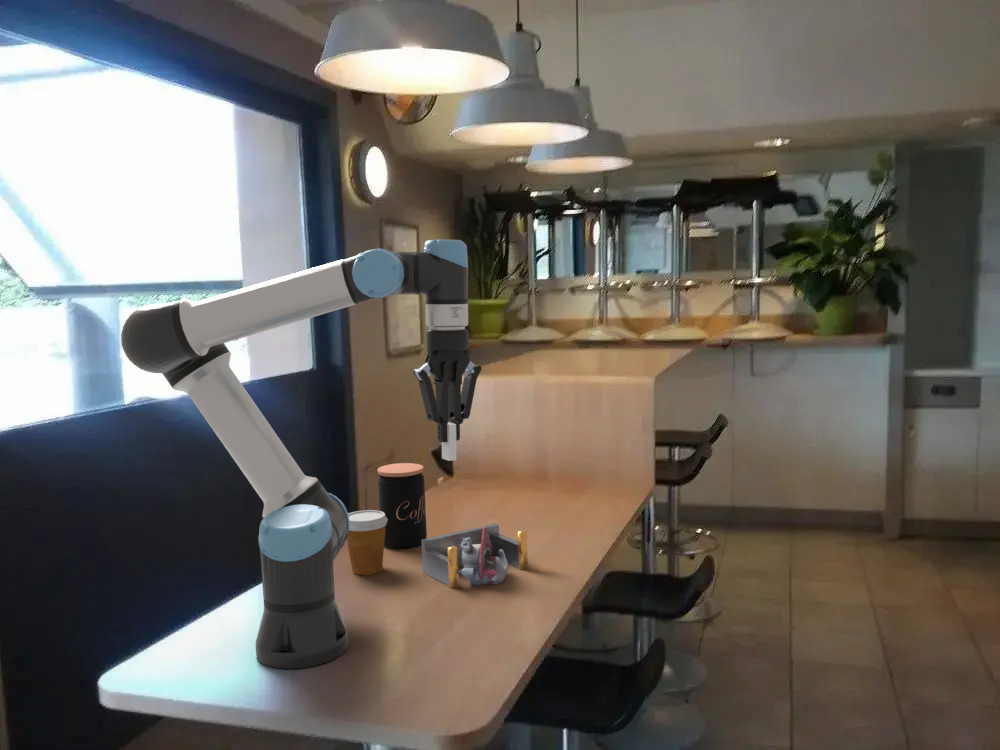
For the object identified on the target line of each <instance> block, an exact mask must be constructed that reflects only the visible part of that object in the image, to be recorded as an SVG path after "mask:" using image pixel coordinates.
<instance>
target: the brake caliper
mask: <svg viewBox="0 0 1000 750" xmlns="http://www.w3.org/2000/svg"><path fill="white" fill-rule="evenodd" d="M483 526H484V527H483V532H482V540H481V544H471V542H472V540H471V538H470V537H468V538H462V540H463V541H462V543H461V548H462V549H463V551H462V564H463V565H462V566H463V568H461V569H458V574H460V576H463V577H464V578H465V579H466V580H467V581H469V582H470V583H471V584H472V585H475V586H483V585H497V584H502V583H503V582H504V580H505V578H506V576H507V573H508V572H509V567H510V566H509V564H508V562H507V559H506V557H505V553H504V551H503V550H501V549H500V550H499V551H498V557H492V556H491V550H492V547H491V542H490V538H489V535H488V531H487V527H486V525H483ZM486 545H487V547H486Z"/></svg>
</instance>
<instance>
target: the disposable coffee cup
mask: <svg viewBox="0 0 1000 750" xmlns="http://www.w3.org/2000/svg"><path fill="white" fill-rule="evenodd" d="M348 515H349V532H348V537H347V540H346V543H347V550H348V554H349V559H350V565H351V571H352V573H353V574H355V575H358V576H371V575H376V574H379V573H381V572H382V571H383V564H384V563H383V562H384V549H385V546H384V539H385V526H386V523H387V518H386V516H385V513H384V512H382V511H379V510H375V509H366V510H357V511H352V512H348Z"/></svg>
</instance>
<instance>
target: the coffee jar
mask: <svg viewBox="0 0 1000 750" xmlns="http://www.w3.org/2000/svg"><path fill="white" fill-rule="evenodd" d="M424 469H425V467H424V466H423V465H422V464H419V463H412V462H404V463H403V462H399V463H392V464H391V463H389V464H386V465H382V466H380V467H378V468H377V469H376V470H377V474H378V475H379V478H378V479H377V488H378V489H377V492H378V493H377V494H378V507H379V508H378V509H379V510H378V511H382V512H384V513H385V516H386V518H387V523H386V526H385V539H384V548H387V549H391V550H398V551H399V550H404V551H405V550H411V549H416V548H418V547H422V539H427V538H428V535H427V534H428V532H427V512H426V511H427V507H426V491H425V489H426V488H425V477H424V475H423V472H424Z"/></svg>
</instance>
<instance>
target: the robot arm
mask: <svg viewBox="0 0 1000 750" xmlns="http://www.w3.org/2000/svg"><path fill="white" fill-rule="evenodd" d="M468 260H469V259H468V247H467V244H466V243H465V242H464V241H463V240H460V239H428V240H426V241H425V242H424V247H423V250H420V251H390V250H389V249H386V248H380V247H376V248H373V249H372V248H371V249H368V250H365V251H363V252H360V253H358V254H357V255H354V256H350V257H347V258H344V259H339V260H336V261H333V262H329V263H325V264H322V265H319V266H315V267H311V268H308V269H306V270H305V269H304V270H302V271H299V272H296V273H295V272H294V273H291V274H289V275H285V276H281V277H277V278H273V279H271V280H268V281H264V282H261V283H257V284H253V285H250V286H247V287H243V288H240V289H236V290H233V291H228V292H227V293H222V294H219V295H216V296H213V297H209V298H206V299H201V300H198V301H195V302H194V301H193V300H191V299H189V298H182V299H179V300H176V301H170V302H166V303H164V302H163V303H152V304H148V305H144V306H142V307H140V308H138V309H136V310H135V311H133V313H131V314H130V315H129V316H128V317H127V319H126V320H125V322H124V324H123V326H122V330H121V333H120V341H121V342H120V344H121V347H122V350H123V352H124V354H125V356H126V358H127V359H128V360H129V361H130V362H131V363H132V364H133V365H134V366H135V367H137V368H139V369H140V370H142V371H145V372H148V373H153V374H162V375H163V377H164V378H165V379H166V381H167V382H168V383H169V386H171V388H172V389H173V390H175V391H180V392H184V393H186V394H187V395H188V397H189V398H190V399H191V400H192V402H193V404H194V405H195V406H196V408H197V409H198V410H199V412H200V414H201V415H202V416H203V418H204V419H205V420H206V422H207V423H208V425H209V426H210V428H211V429H212V431H213V432H214V434H215V435H216V436H217V438H218V439H219V441H220V442H221V443H222V445H223V447H224V448H225V450H227V452H228V454H229V455H230V457H231V458H232V459H233V461H234V462H235V463H236V465H237V466H238V468H239V469H240V470H241V472H242V474H243V475H244V476H245V478H246V479H247V481H248V482H249V484H250V485H251V486H252V488H253V489H254V490H255V492H256V494H257V495H258V496H259V498H260V499H261V501H262V502H263V510H262V519H261V521H260V524H259V530H258V531H259V534H258V538H257V539H258V547H259V553H260V554H259V555H260V567H261V568H260V570H261V582H262V584H261V585H262V595H263V596H262V598H263V612H262V616H261V620H260V625H259V628H258V632H257V636H256V639H255V656H257V657H256V659H257V658H258V659H257V661H258V660H259V661H261V662H262V663H264V664H266V665H265V666H267V665H268V666H267V667H270V666H272V667H271V668H274V667H276V669H282V668H286V669H287V668H288V669H289V668H290V669H294V670H296V669H302V668H303V669H304V668H310V667H314V666H319V665H322V664H326V663H328V662H331V661H333V660H335V659H336V658H338V657H340V656H342V654H344V653H345V652H346V651H347V650H348V647H349V637H348V636H349V635H348V629H347V626H346V624H345V622H344V619H343V617H342V614H341V612H340V609H339V607H338V604H337V602H336V593H335V574H334V572H335V571H334V561H335V559H336V557H337V556H338V554H339V553H340V551H341V549H342V548H343V547H344V546H345V544H346V543H347V537H348V532H349V515H348V514H349V512H348V510H347V507H346V505H345V504H344V502H343V501H342V500H341V499H339V498H338V497H337V496H336V495H334V494H333V493H330V492H327V490H326V489H325V487H324V486H323V484H322V483H321V481H320V480H319V479H318V478H317V477H315V476H314V477H313V476H308V475H305V474H304V471H302V469H301V468H300V466H299V465H298V463H297V462H296V460H295V459H294V457H292V455H291V454H290V452H289V451H288V449H287V448H286V446H285V445H284V443H283V442H282V440H281V438H280V437H279V436H278V434H277V433H276V432H275V430H274V429H273V427H272V426H271V424H270V423H269V421H268V420H267V419H266V417H265V416H264V414H263V413H262V412H261V410H260V409H259V407H258V405H257V404H256V403H255V401H254V400H253V398H252V397H251V395H250V394H249V393H248V392H247V391H248V390H246V389H245V387H244V386H243V384H242V382H241V381H240V379H238V376H237V375H236V374H235V373H234V371H233V369H232V368H231V367H230V363H231V362H230V360H231V354H232V353H231V351H230V350H229V349H228V347H227V346H226V344H225V343H230V342H232V341H235V340H239V339H242V338H246V337H248V336H249V337H250V336H253V335H256V334H260V333H264V332H267V331H270V330H273V329H276V328H280V327H283V326H288V325H290V324H294V323H298V322H300V321H301V322H302V321H305V320H308V319H311V318H314V317H315V318H316V317H317V316H321V315H325V314H327V313H331V312H334V311H338V310H342V309H344V308H349V307H352V306H356V305H360V304H364V303H367V302H371V301H373V300H374V301H375V300H378V299H381V298H386V297H388V296H401V295H405V296H406V295H417V296H419V295H425V326H426V327H428V329H427V330H426V331H425V336H426V337H425V339H426V340H425V341H426V342H425V343H426V344H425V346H426V351H427V352H426V357H425V359H424V364H423V365H422V366H420V367H419V368H414V370H413V371H412V372H413V375H414V377H415V378H416V379H417V381H418V385H419V389H420V393H421V397H422V402H423V405H424V409H425V414H426V418H427V420H428V421H429V422H434V423H436V424H437V425H436V426H437V440H438V442H440V443H441V459H442V460H446V461H448V462H451V461H452V462H453V461H457V442H458V441H460V439H461V425H462V424H463V422H464V420H466V419H469V418H470V416H471V411H472V406H473V399H474V395H475V391H476V390H475V389H476V384H477V379H478V377H479V375H480V373H481V372H482V366H481V365H478V364H475V363H474V362H472V361H471V357H470V355H469V352H468V351H469V347H470V345H469V343H470V342H469V341H470V340H469V338H470V337H469V336H470V333H469V332H470V331H469V330H468V329H467V328H466V327H467V326H468V325H469V264H468V263H469V262H468ZM464 373H465V374H464ZM431 375H432V376H433V378H434V379H433V384H434V387H435V392H434V388H433V384H432V380H431V379H430V378H431ZM463 375H464V377H463ZM259 661H258V662H259ZM261 662H260V663H261ZM262 663H261V664H262ZM264 664H263V665H264ZM318 664H319V665H318ZM295 668H296V669H295ZM286 669H285V670H286ZM290 669H289V670H290Z"/></svg>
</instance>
